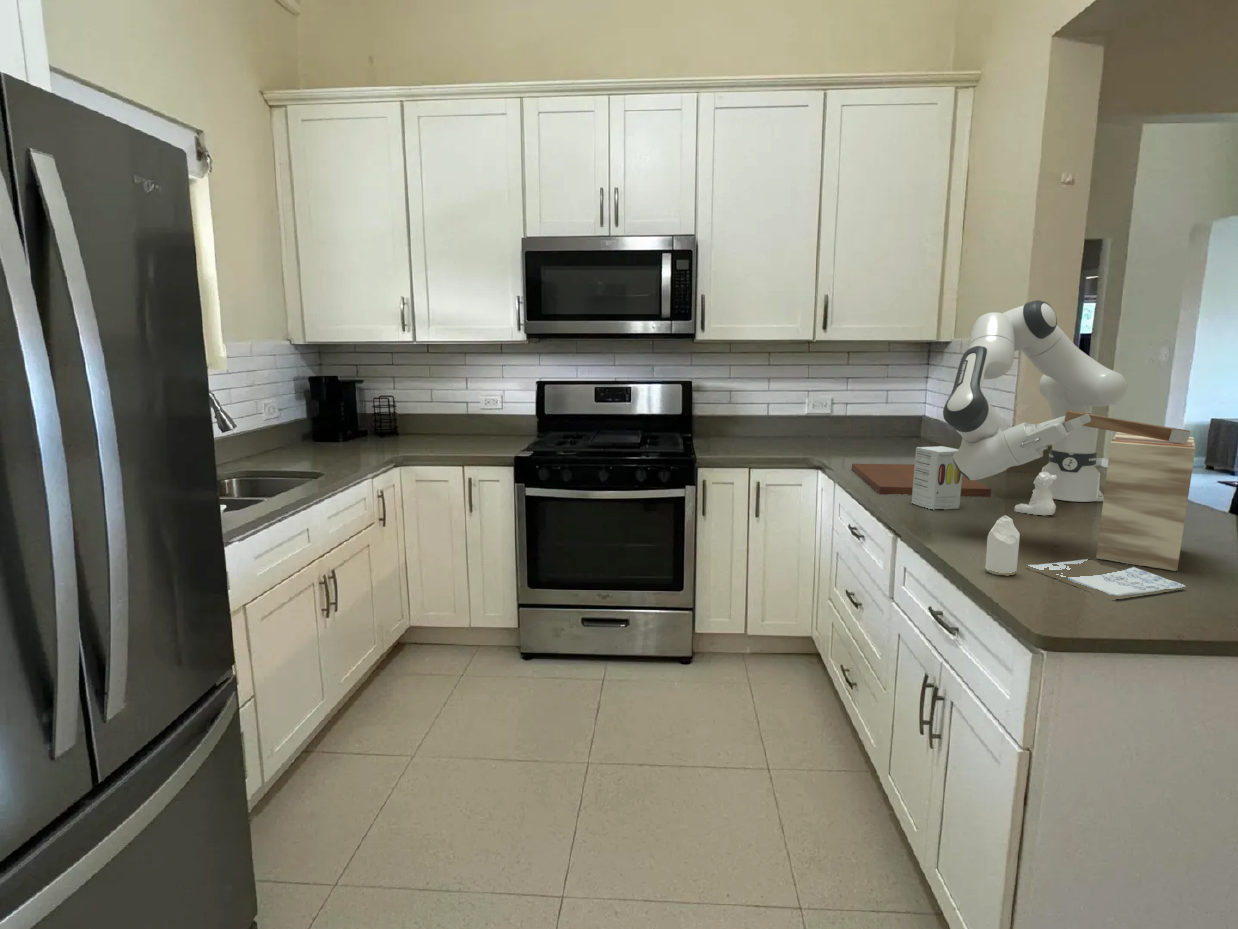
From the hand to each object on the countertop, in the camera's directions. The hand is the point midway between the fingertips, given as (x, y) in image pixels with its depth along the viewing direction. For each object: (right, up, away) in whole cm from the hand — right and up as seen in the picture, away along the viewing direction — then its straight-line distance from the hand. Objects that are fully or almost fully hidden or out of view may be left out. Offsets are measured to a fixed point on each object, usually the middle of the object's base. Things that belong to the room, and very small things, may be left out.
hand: (1091, 416), depth 154 cm
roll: (-25, -33, -9) cm, 42 cm away
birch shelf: (+12, -31, +3) cm, 33 cm away
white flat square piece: (-7, -35, -13) cm, 37 cm away
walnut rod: (+5, -4, -3) cm, 7 cm away
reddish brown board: (-5, -17, +80) cm, 82 cm away
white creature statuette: (+11, -24, +38) cm, 47 cm away
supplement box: (-13, -23, +47) cm, 54 cm away
